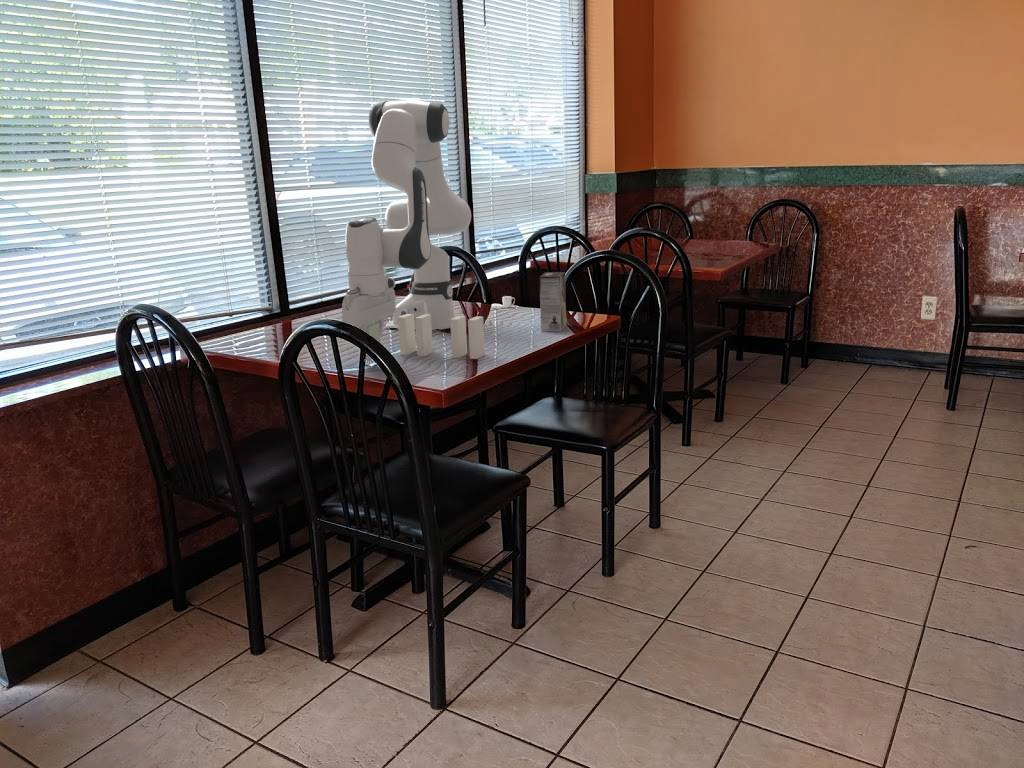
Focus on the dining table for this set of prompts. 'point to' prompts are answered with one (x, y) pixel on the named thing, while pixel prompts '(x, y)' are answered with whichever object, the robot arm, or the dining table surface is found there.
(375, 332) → the domino
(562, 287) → the coffee box
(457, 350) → the domino
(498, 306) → the teacup and saucer
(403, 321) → the domino
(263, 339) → the dining table surface
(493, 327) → the dining table surface
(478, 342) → the domino
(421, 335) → the domino
